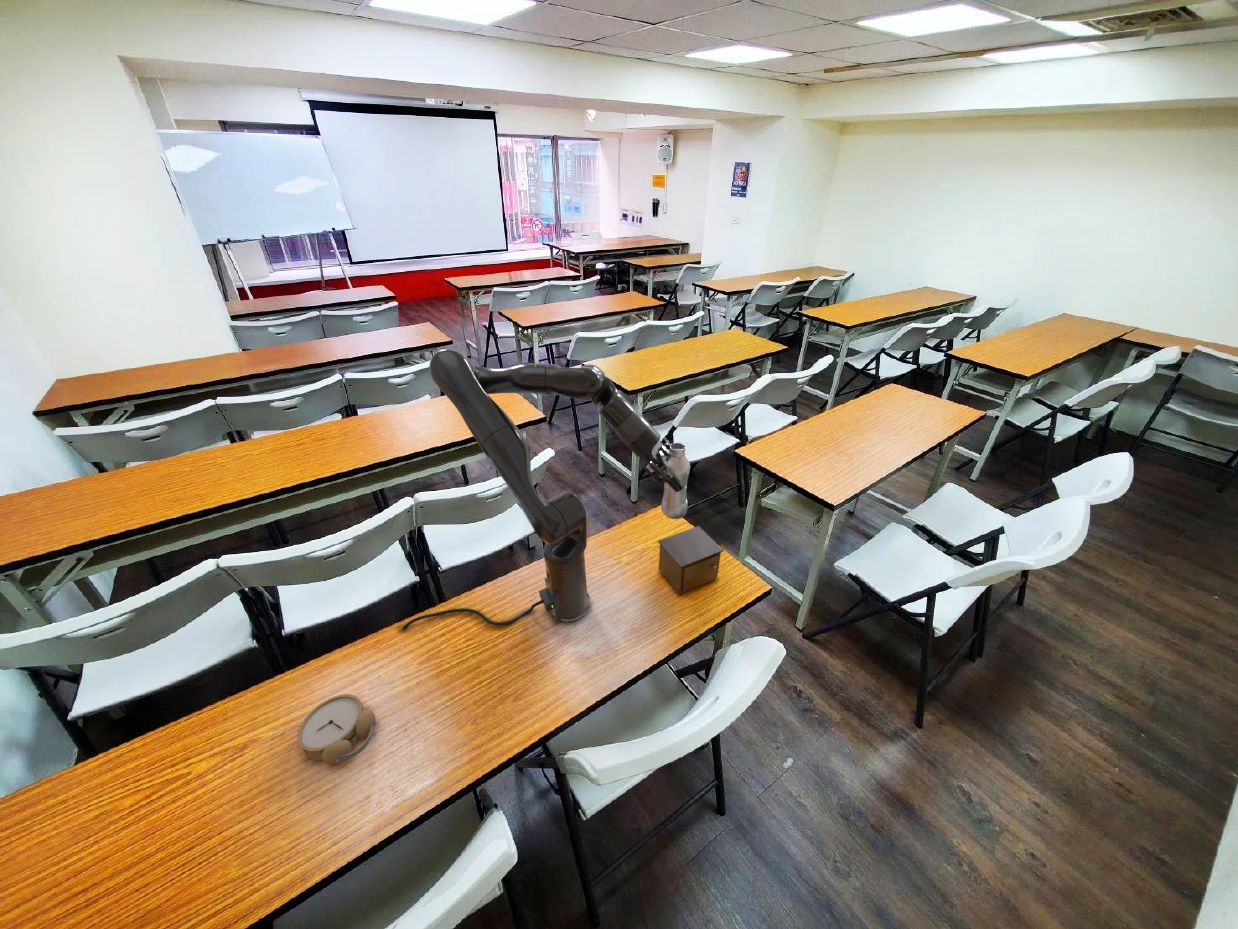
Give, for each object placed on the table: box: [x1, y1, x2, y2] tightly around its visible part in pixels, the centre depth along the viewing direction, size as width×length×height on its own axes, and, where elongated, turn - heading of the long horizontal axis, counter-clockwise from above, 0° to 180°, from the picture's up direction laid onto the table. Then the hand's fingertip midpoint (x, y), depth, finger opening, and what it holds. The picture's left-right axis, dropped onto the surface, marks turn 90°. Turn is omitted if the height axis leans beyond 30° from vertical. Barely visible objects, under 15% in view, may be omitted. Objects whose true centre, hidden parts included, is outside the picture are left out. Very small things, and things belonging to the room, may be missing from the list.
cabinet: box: [657, 525, 724, 596], centre depth 122 cm, size 13×12×11 cm
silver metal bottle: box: [660, 442, 691, 520], centre depth 114 cm, size 6×7×20 cm
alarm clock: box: [296, 693, 377, 766], centre depth 90 cm, size 11×5×15 cm
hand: (682, 482), depth 114 cm, fingers closed on silver metal bottle, 6 cm apart
